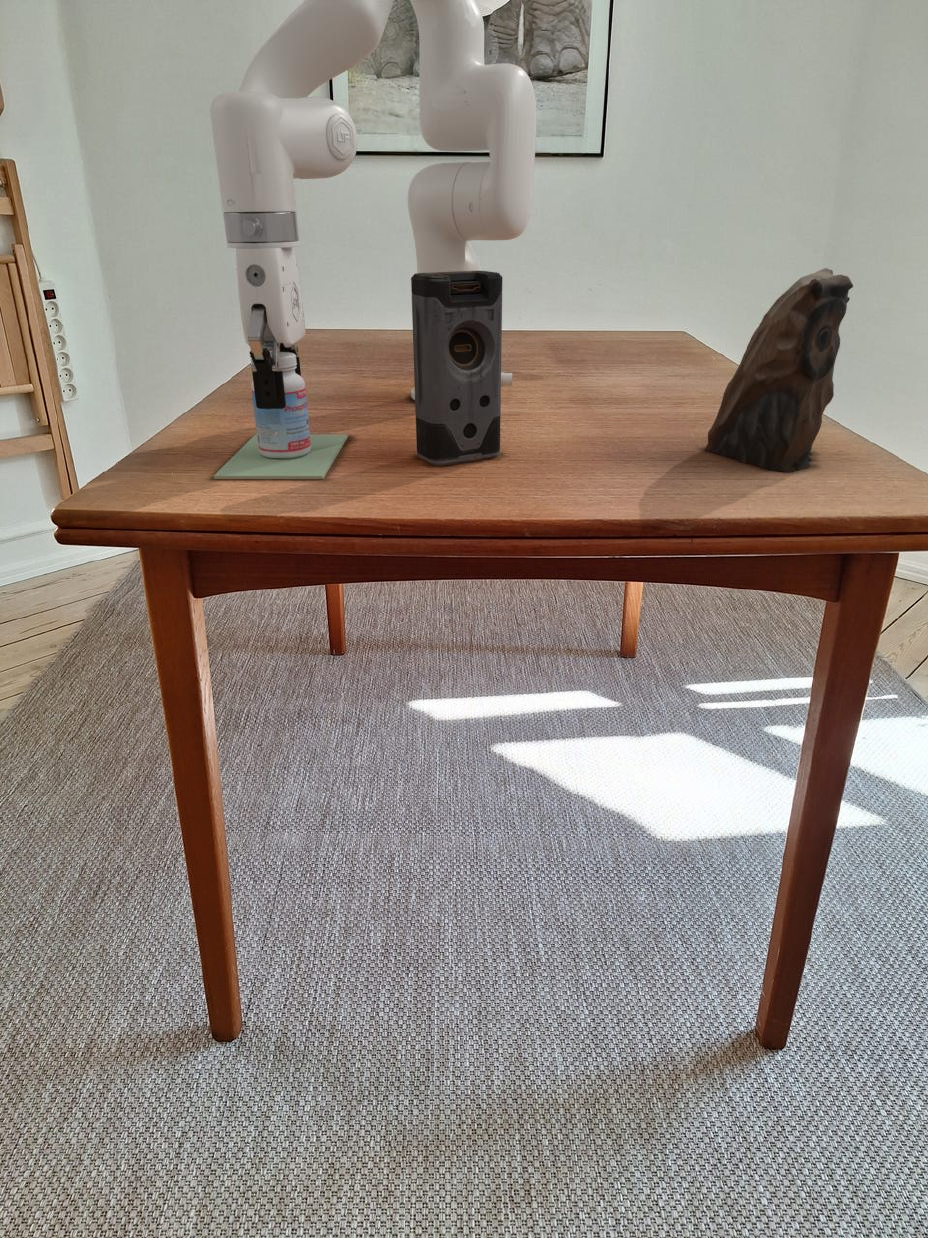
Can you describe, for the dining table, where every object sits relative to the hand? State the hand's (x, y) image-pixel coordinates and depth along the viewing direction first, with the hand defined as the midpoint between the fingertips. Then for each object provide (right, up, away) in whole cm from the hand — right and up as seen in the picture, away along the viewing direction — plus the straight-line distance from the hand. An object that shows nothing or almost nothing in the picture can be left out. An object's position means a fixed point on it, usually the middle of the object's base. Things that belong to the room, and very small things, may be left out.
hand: (280, 398), depth 93 cm
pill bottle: (0, -6, +3) cm, 7 cm away
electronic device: (+20, -6, +3) cm, 22 cm away
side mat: (0, -6, +3) cm, 7 cm away
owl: (+56, -6, +3) cm, 57 cm away
